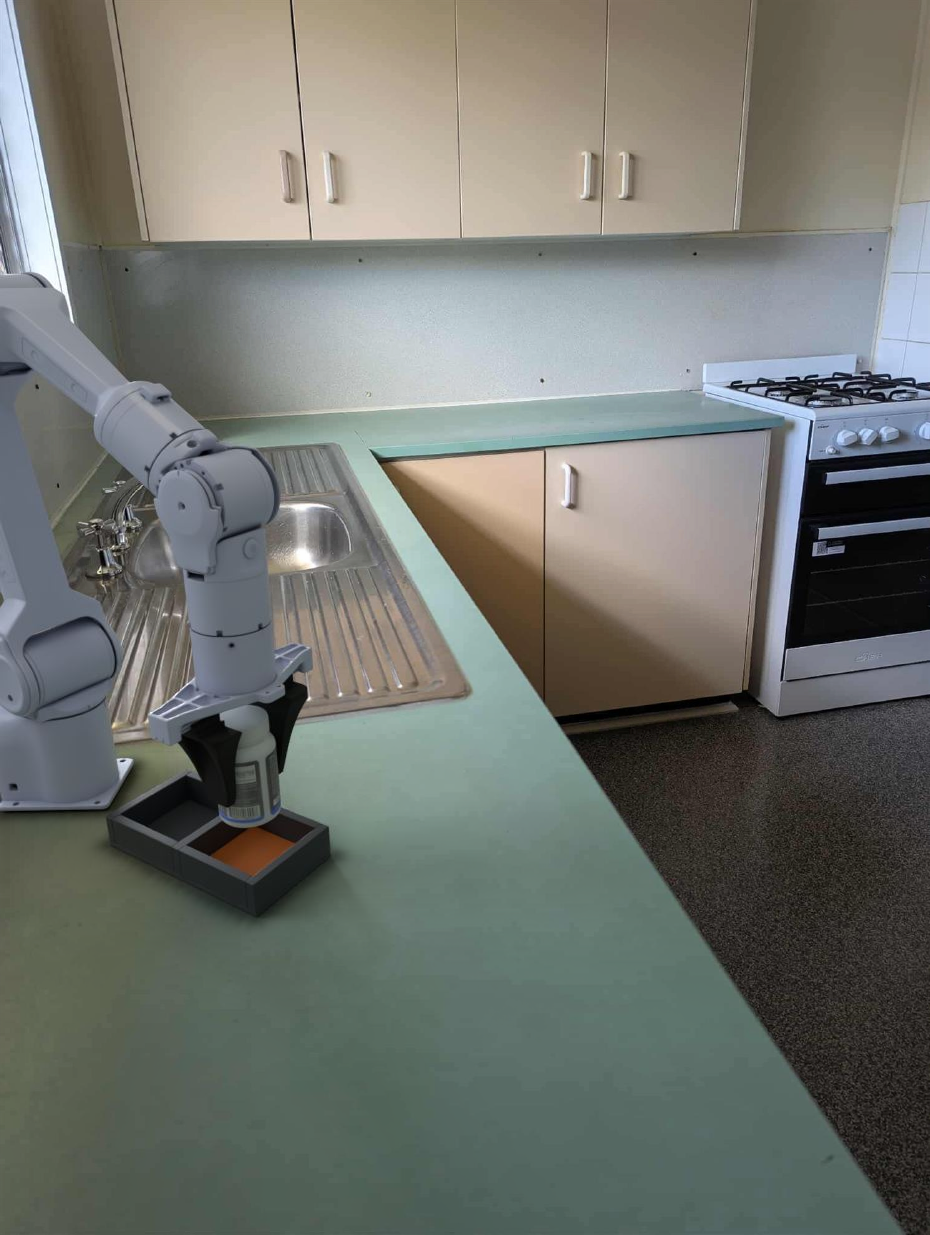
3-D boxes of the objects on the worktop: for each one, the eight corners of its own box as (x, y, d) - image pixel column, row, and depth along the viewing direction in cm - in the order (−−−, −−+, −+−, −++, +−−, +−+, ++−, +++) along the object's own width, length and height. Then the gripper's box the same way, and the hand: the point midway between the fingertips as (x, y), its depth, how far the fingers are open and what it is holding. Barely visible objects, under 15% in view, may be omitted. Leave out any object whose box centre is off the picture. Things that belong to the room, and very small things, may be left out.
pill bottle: (255, 788, 71) (247, 696, 68) (293, 809, 68) (286, 714, 65) (206, 814, 68) (194, 718, 65) (244, 837, 65) (234, 738, 62)
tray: (110, 845, 72) (105, 815, 71) (190, 796, 79) (186, 768, 78) (256, 917, 65) (253, 885, 63) (330, 856, 71) (329, 826, 70)
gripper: (192, 671, 55) (213, 852, 60) (339, 602, 66) (347, 758, 71) (117, 647, 58) (143, 820, 63) (270, 585, 69) (281, 735, 74)
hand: (246, 785), depth 67 cm, fingers closed on pill bottle, 5 cm apart
